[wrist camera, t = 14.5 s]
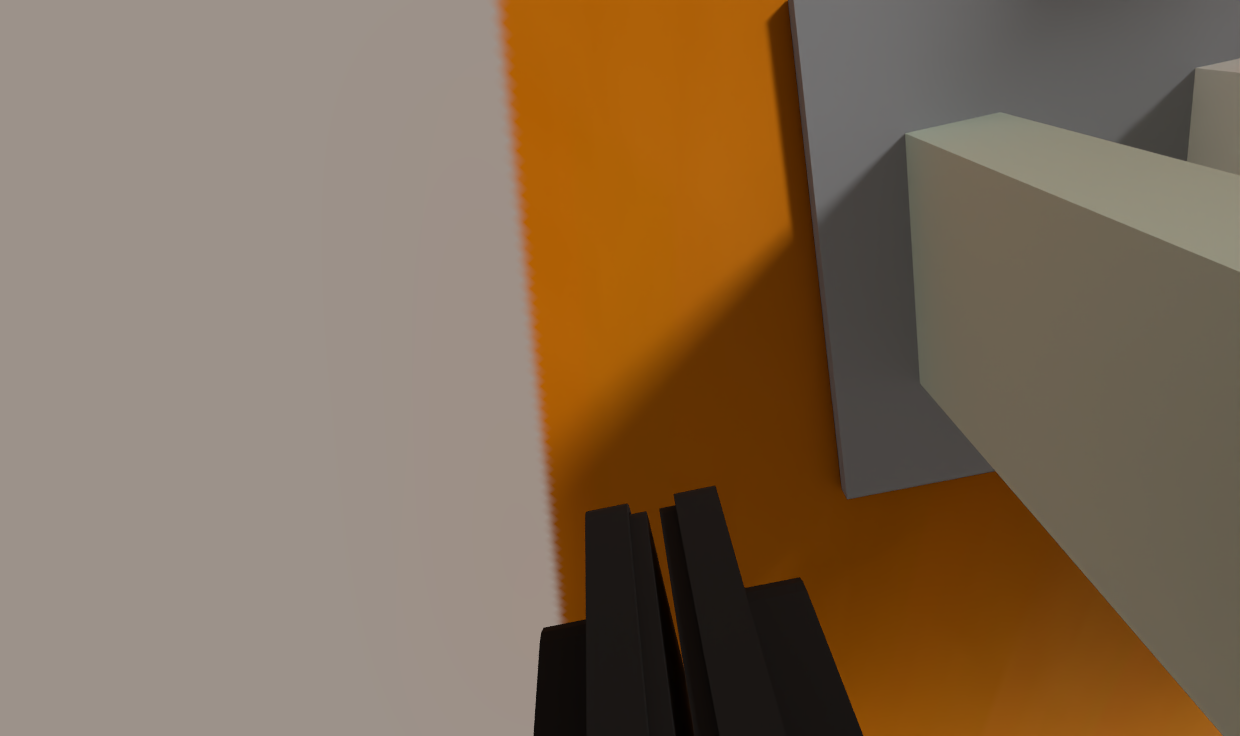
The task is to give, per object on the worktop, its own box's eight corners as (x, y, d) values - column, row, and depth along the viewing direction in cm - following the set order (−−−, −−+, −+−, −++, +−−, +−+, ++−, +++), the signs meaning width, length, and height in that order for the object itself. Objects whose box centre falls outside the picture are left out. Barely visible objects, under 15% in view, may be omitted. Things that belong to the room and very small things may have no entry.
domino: (1000, 112, 17) (1622, 276, 7) (1003, 366, 19) (1457, 767, 9) (904, 133, 17) (1372, 326, 7) (919, 383, 19) (1275, 796, 9)
